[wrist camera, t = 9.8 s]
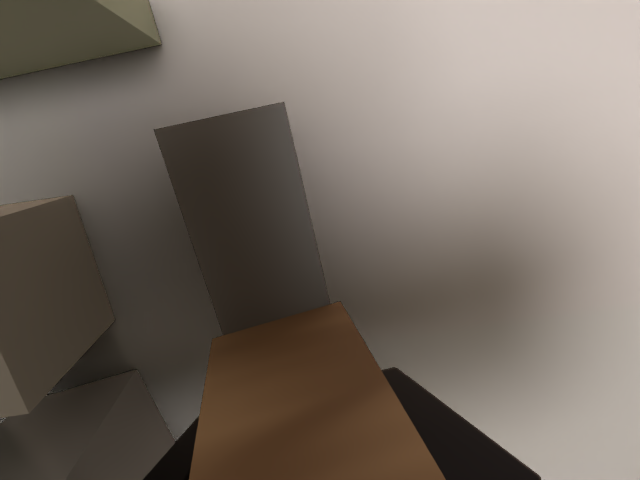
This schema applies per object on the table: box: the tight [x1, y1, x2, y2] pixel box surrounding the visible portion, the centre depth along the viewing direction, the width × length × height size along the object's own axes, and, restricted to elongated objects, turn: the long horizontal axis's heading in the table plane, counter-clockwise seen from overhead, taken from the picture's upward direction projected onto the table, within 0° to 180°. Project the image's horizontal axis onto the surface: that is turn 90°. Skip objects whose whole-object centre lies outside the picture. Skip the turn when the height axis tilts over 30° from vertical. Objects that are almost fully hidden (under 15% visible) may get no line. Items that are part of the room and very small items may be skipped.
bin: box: [0, 0, 161, 79], centre depth 10 cm, size 10×18×4 cm, turn 12°
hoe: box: [154, 102, 446, 480], centre depth 7 cm, size 3×12×9 cm, turn 12°
